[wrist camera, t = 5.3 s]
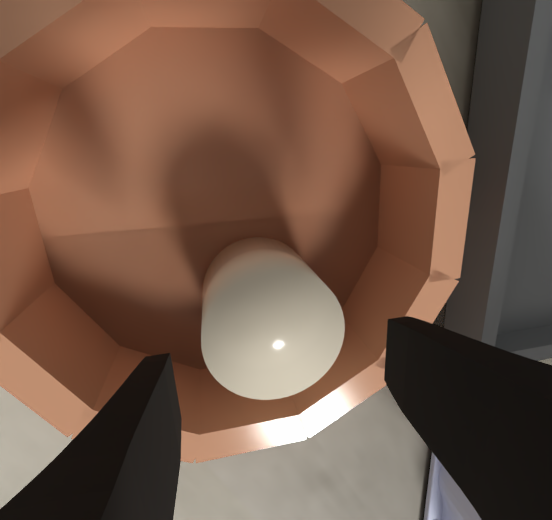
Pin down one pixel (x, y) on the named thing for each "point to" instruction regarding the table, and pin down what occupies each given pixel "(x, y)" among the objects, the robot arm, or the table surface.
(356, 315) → the terracotta bowl
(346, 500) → the table surface
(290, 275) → the beige rounded capsule
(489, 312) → the parts tray
